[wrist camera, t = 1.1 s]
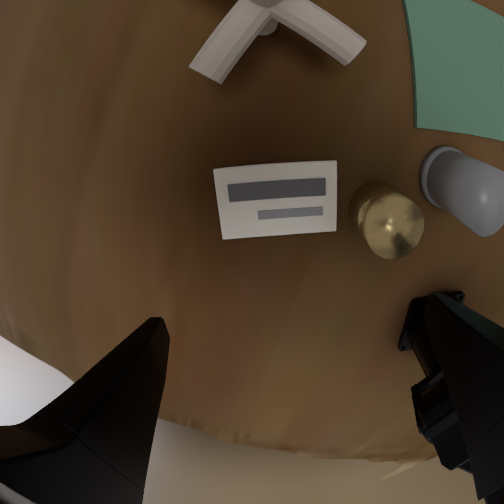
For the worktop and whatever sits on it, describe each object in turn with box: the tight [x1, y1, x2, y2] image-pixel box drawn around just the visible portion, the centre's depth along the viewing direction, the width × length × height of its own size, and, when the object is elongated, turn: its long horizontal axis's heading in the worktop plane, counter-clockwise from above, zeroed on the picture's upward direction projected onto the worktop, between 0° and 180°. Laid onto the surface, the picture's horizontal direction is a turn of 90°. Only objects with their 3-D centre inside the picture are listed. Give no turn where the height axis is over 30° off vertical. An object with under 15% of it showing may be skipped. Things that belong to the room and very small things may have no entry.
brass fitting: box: [349, 181, 424, 259], centre depth 18 cm, size 4×4×4 cm
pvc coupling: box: [419, 146, 504, 237], centre depth 16 cm, size 5×5×6 cm
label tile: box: [213, 160, 337, 239], centre depth 19 cm, size 5×8×1 cm, turn 95°
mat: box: [402, 0, 504, 141], centre depth 13 cm, size 12×12×1 cm
